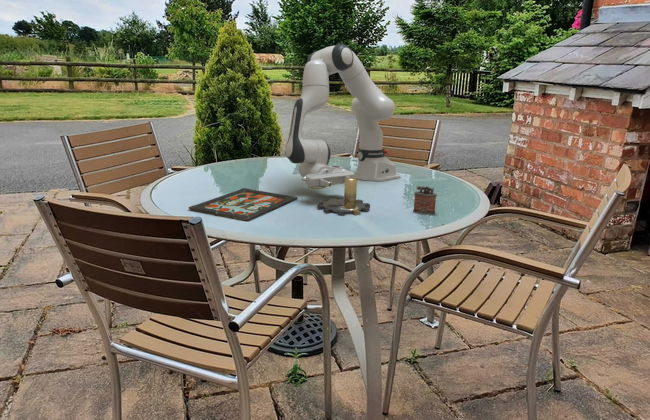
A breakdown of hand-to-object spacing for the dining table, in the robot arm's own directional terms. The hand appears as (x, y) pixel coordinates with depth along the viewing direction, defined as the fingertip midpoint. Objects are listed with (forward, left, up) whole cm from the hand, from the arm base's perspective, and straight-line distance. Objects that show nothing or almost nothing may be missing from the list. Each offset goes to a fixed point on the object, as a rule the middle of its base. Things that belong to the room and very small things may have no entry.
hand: (340, 183), depth 184 cm
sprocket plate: (0, +4, -9) cm, 10 cm away
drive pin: (0, +8, -8) cm, 11 cm away
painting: (+32, -16, -10) cm, 38 cm away
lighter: (-24, +22, -9) cm, 33 cm away
